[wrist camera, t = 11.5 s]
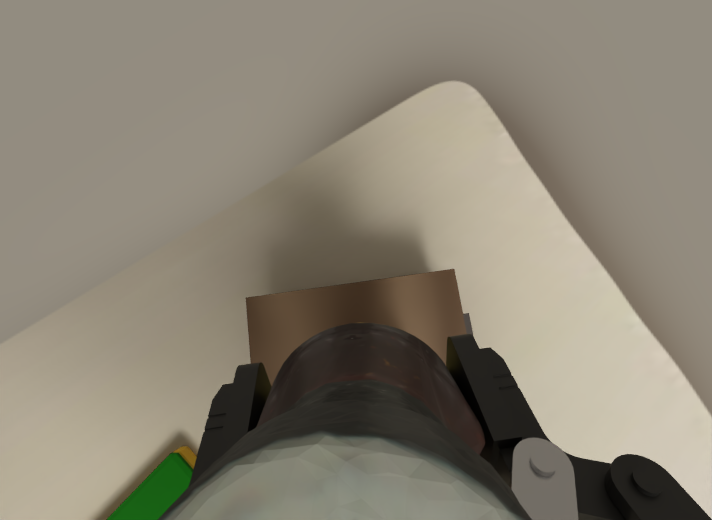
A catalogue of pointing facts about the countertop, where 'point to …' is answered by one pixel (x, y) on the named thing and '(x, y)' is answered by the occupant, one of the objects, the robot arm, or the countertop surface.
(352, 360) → the sauce bottle
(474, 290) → the countertop surface
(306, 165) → the countertop surface
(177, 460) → the dish sponge
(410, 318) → the walnut box
